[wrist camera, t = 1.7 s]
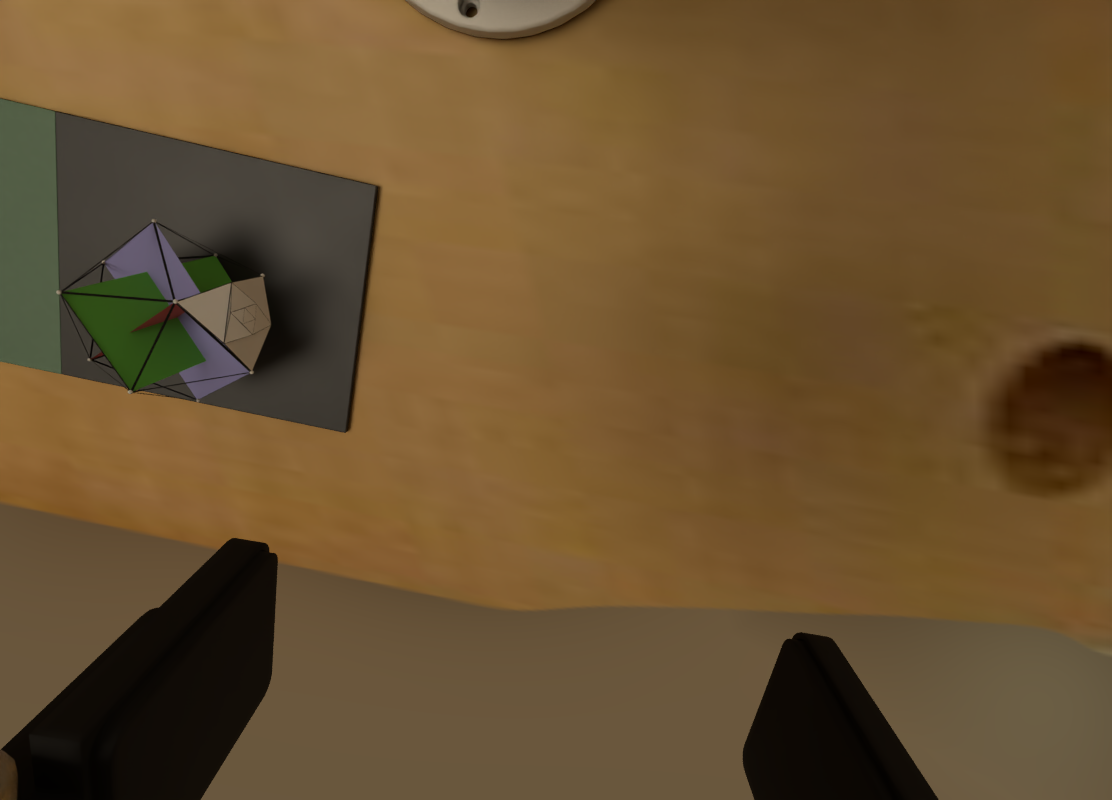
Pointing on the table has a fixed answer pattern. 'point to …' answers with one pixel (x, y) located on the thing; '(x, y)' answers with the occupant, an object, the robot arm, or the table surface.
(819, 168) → the table surface
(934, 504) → the table surface
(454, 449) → the table surface
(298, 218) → the desk pad
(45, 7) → the table surface
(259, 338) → the geometric puzzle
